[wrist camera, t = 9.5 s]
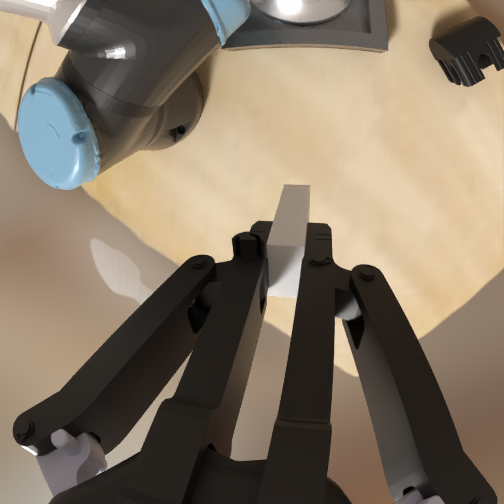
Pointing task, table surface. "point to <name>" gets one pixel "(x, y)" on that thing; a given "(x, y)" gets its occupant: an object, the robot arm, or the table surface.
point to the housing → (316, 30)
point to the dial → (302, 10)
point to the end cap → (468, 51)
